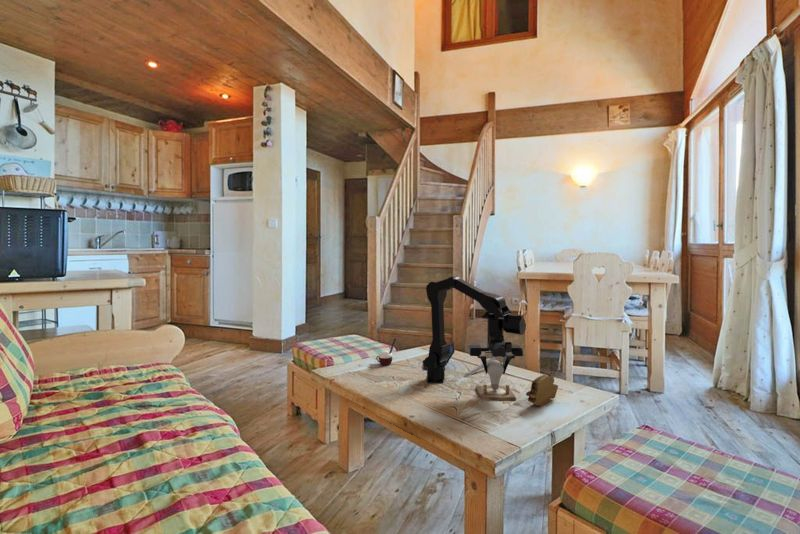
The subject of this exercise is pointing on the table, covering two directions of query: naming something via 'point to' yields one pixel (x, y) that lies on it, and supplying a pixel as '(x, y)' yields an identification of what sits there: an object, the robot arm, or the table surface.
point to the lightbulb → (495, 373)
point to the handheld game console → (449, 356)
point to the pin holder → (495, 393)
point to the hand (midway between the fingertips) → (494, 373)
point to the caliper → (480, 366)
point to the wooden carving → (542, 390)
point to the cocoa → (386, 356)
